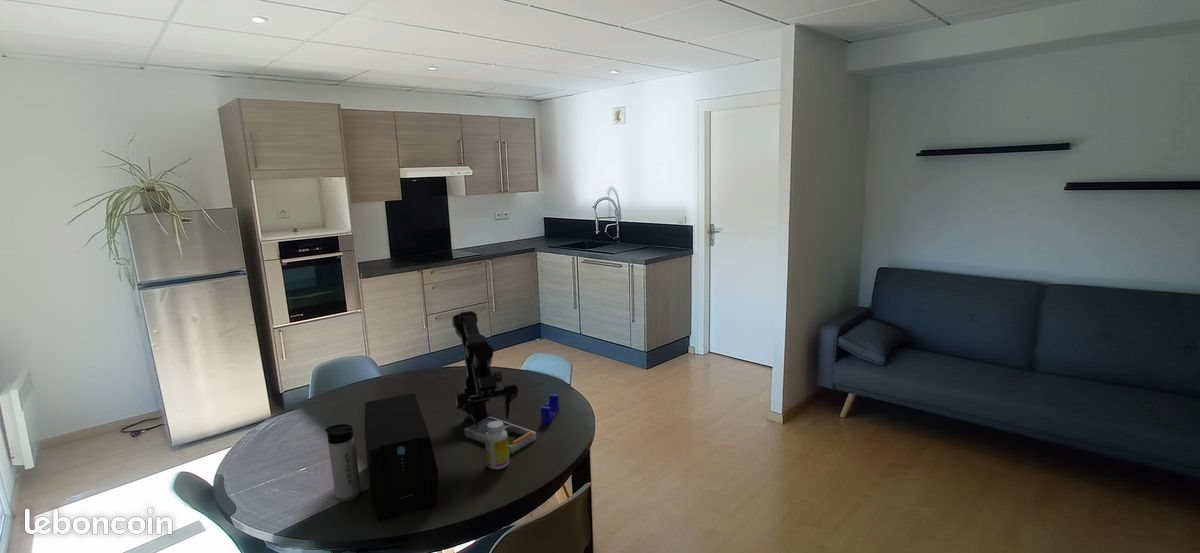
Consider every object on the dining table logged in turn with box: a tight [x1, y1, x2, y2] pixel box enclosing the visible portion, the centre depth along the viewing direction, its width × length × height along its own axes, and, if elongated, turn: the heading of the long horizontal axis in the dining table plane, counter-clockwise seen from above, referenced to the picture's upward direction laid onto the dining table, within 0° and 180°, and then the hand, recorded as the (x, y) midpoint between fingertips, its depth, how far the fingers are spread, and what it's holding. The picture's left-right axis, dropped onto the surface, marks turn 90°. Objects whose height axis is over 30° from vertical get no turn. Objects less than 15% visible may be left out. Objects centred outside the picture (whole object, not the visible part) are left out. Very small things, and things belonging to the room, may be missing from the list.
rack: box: [463, 416, 537, 455], centre depth 177 cm, size 22×11×3 cm, turn 53°
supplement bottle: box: [485, 421, 511, 470], centre depth 160 cm, size 7×7×13 cm
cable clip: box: [540, 393, 560, 425], centre depth 192 cm, size 12×4×6 cm, turn 169°
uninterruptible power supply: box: [364, 392, 439, 523], centre depth 151 cm, size 16×34×20 cm, turn 25°
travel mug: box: [325, 423, 362, 502], centre depth 146 cm, size 6×7×20 cm
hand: (492, 422), depth 163 cm, fingers open, 9 cm apart
